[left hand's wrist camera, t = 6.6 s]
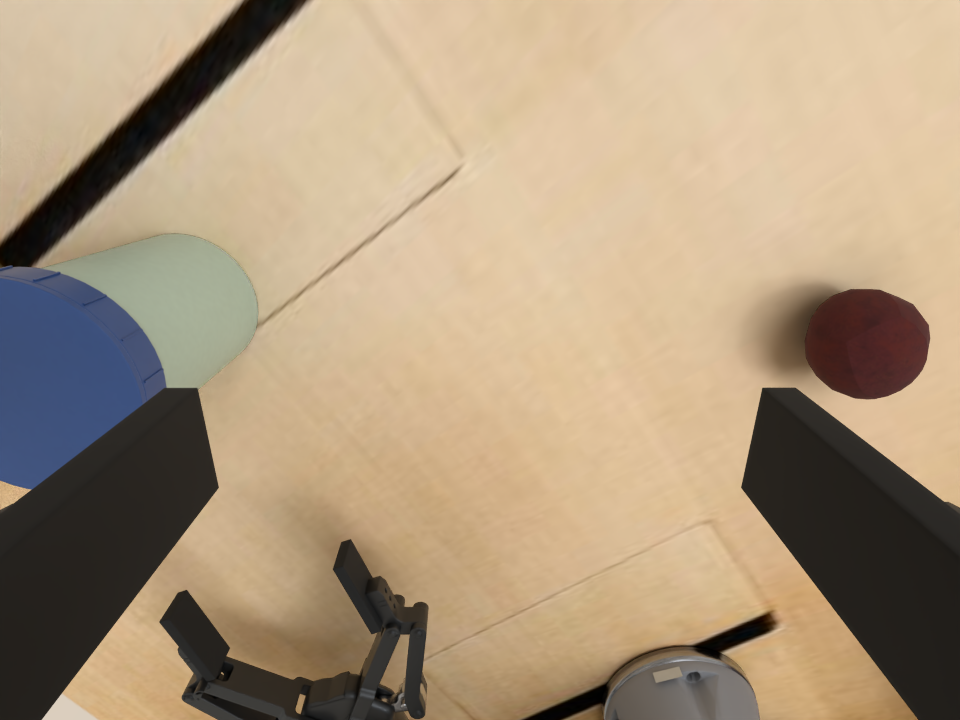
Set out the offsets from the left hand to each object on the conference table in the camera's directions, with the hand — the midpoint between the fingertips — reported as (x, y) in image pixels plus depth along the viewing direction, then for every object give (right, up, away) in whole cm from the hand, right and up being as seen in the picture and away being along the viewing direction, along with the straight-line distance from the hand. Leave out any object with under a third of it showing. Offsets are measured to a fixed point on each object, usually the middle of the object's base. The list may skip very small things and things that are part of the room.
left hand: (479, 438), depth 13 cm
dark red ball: (+27, +4, +28) cm, 39 cm away
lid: (-22, 0, +13) cm, 25 cm away
